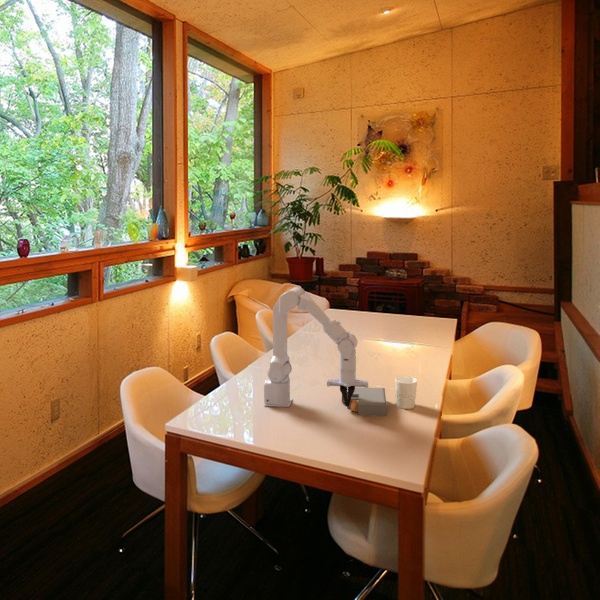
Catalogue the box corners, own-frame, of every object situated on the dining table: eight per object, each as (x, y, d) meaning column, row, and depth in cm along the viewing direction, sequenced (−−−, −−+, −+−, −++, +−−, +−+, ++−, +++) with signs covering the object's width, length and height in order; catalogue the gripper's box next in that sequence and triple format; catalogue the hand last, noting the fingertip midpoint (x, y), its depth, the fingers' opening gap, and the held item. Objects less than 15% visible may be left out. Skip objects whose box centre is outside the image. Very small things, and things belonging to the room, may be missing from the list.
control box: (346, 414, 183) (346, 401, 182) (348, 399, 197) (348, 386, 196) (385, 416, 181) (386, 402, 180) (384, 400, 195) (384, 388, 194)
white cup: (400, 411, 185) (401, 384, 183) (390, 402, 193) (391, 377, 191) (420, 408, 187) (421, 382, 185) (409, 400, 195) (410, 375, 193)
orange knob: (350, 412, 184) (350, 402, 183) (350, 408, 187) (350, 398, 187) (381, 413, 182) (382, 403, 182) (381, 409, 186) (381, 399, 185)
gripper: (326, 372, 180) (326, 409, 182) (368, 373, 178) (367, 410, 181) (327, 365, 187) (327, 401, 189) (368, 367, 185) (367, 403, 187)
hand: (347, 405), depth 185 cm, fingers closed
